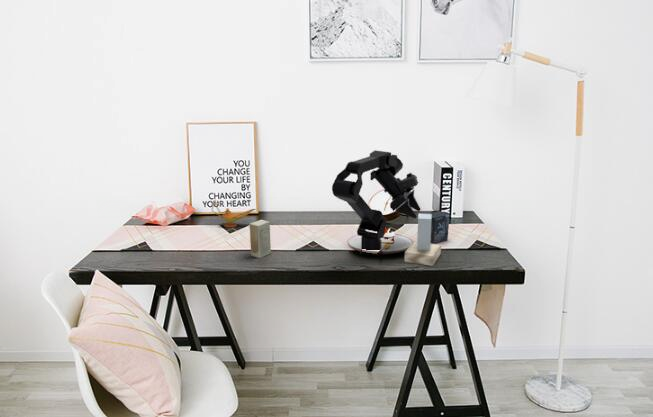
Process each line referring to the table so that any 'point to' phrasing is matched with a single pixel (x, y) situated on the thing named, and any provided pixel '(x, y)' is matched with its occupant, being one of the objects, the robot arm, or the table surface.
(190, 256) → the table surface
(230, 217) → the magic lamp
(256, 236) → the skincare box
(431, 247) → the wooden block
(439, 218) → the box
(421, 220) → the tall block
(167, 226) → the table surface
